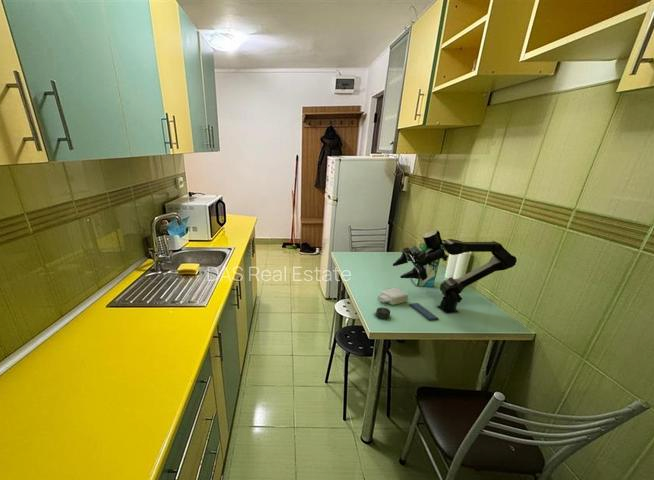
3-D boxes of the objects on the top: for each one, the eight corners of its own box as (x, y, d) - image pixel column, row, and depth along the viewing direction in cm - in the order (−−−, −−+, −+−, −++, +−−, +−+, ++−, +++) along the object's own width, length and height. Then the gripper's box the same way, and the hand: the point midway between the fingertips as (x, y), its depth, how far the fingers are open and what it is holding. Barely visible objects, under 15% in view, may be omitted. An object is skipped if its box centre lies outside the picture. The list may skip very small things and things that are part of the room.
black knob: (384, 312, 143) (385, 306, 142) (391, 318, 138) (393, 312, 136) (373, 313, 142) (374, 307, 140) (379, 320, 136) (381, 314, 135)
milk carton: (427, 280, 179) (437, 239, 169) (433, 287, 171) (443, 244, 161) (412, 279, 180) (420, 239, 170) (416, 286, 172) (426, 243, 162)
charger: (371, 300, 154) (393, 295, 160) (383, 308, 147) (406, 302, 153) (372, 291, 152) (394, 286, 158) (385, 299, 145) (408, 294, 151)
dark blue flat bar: (417, 304, 151) (417, 302, 151) (438, 319, 138) (438, 318, 138) (409, 305, 150) (409, 303, 150) (429, 320, 137) (429, 319, 137)
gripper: (417, 232, 139) (384, 247, 143) (436, 255, 125) (400, 271, 129) (422, 249, 146) (390, 263, 150) (441, 273, 132) (406, 288, 135)
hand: (396, 271), depth 141 cm, fingers open, 9 cm apart
